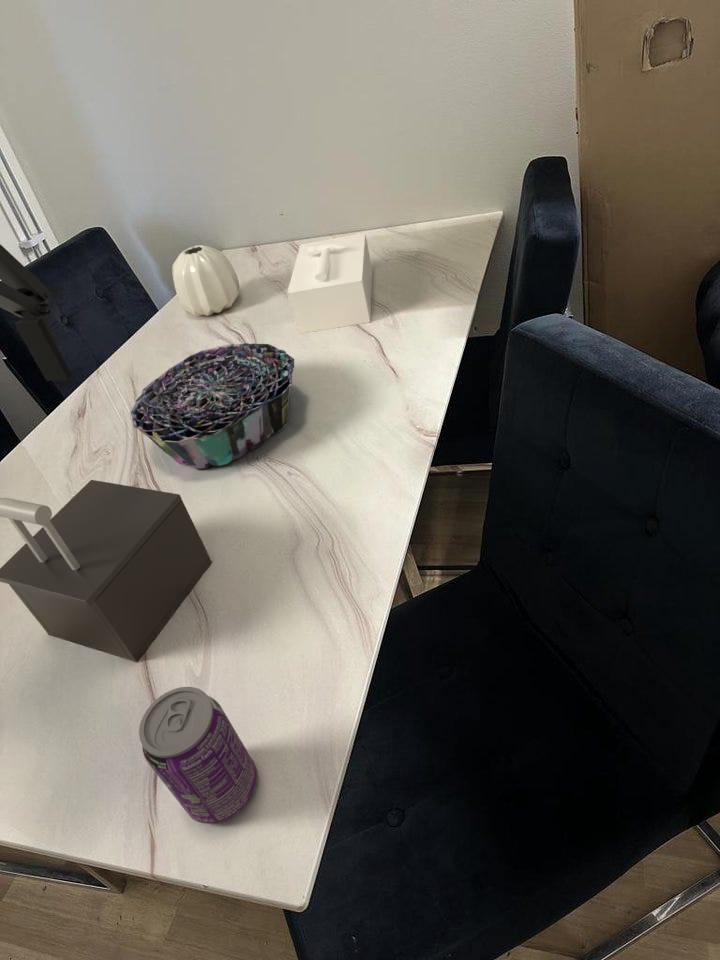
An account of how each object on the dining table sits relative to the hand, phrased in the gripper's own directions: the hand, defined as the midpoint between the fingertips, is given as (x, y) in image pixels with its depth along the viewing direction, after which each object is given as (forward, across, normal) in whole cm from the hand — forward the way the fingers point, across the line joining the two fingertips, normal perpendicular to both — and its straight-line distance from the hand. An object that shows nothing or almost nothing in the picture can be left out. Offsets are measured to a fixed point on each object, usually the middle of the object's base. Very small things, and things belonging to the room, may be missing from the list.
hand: (20, 417), depth 63 cm
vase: (+29, +84, +25) cm, 92 cm away
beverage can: (+29, -20, -19) cm, 40 cm away
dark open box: (+29, +2, +2) cm, 29 cm away
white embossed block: (+29, +82, -4) cm, 87 cm away
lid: (+18, +1, +2) cm, 18 cm away
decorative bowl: (+29, +37, +3) cm, 47 cm away
